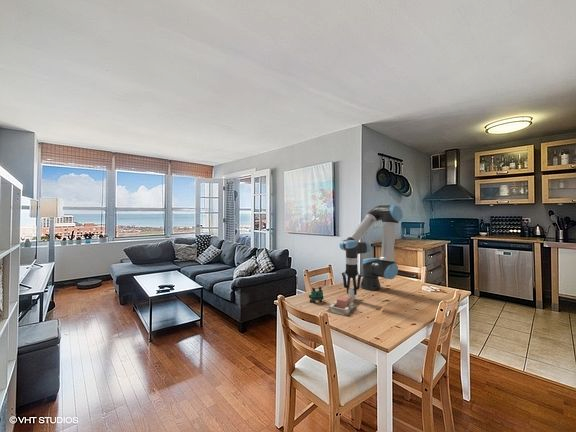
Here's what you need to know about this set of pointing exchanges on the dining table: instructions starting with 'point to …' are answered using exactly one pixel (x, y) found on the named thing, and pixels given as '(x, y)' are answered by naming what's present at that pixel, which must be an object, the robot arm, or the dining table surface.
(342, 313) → the lane shelf
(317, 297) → the green toy creature
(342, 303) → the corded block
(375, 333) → the dining table surface
